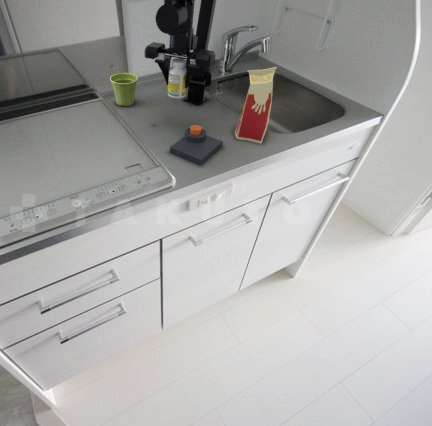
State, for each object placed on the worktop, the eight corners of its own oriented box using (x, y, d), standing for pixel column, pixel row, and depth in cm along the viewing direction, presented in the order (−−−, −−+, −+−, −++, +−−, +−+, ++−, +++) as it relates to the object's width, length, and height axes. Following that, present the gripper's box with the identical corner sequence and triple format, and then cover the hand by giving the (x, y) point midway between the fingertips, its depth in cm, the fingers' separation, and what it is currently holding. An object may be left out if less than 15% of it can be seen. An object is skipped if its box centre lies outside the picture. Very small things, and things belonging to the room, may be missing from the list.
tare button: (193, 129, 89) (194, 123, 87) (203, 132, 87) (203, 127, 86) (187, 133, 87) (188, 127, 86) (197, 137, 85) (198, 131, 84)
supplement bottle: (171, 99, 87) (172, 64, 81) (165, 92, 91) (166, 58, 84) (188, 97, 89) (191, 62, 82) (182, 90, 92) (184, 56, 86)
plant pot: (143, 104, 107) (143, 79, 101) (120, 111, 103) (118, 85, 97) (130, 95, 112) (129, 70, 106) (107, 101, 108) (104, 76, 102)
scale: (191, 135, 92) (192, 124, 90) (221, 147, 88) (224, 136, 85) (168, 152, 85) (168, 141, 83) (200, 166, 81) (201, 154, 78)
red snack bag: (265, 129, 96) (285, 62, 82) (262, 144, 89) (283, 74, 75) (236, 124, 98) (251, 58, 84) (232, 138, 91) (246, 69, 77)
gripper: (225, 22, 80) (216, 82, 91) (160, 14, 85) (159, 72, 96) (213, 32, 73) (205, 96, 84) (143, 22, 78) (143, 84, 89)
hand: (177, 86), depth 88 cm, fingers closed on supplement bottle, 5 cm apart
